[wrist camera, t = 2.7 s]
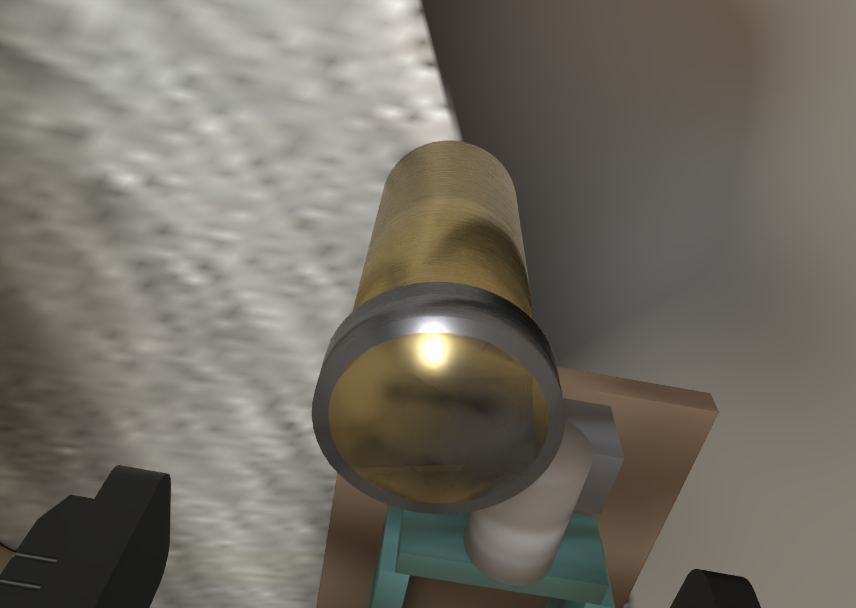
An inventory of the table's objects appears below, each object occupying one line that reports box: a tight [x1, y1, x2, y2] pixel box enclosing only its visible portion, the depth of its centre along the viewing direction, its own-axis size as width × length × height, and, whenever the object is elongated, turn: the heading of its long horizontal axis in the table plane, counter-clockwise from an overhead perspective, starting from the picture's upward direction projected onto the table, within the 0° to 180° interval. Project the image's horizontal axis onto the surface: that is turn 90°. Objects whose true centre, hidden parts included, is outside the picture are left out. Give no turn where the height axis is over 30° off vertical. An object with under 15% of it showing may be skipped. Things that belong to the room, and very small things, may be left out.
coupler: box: [312, 141, 565, 514], centre depth 18 cm, size 5×5×10 cm
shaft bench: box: [316, 367, 719, 608], centre depth 28 cm, size 19×12×5 cm, turn 170°
